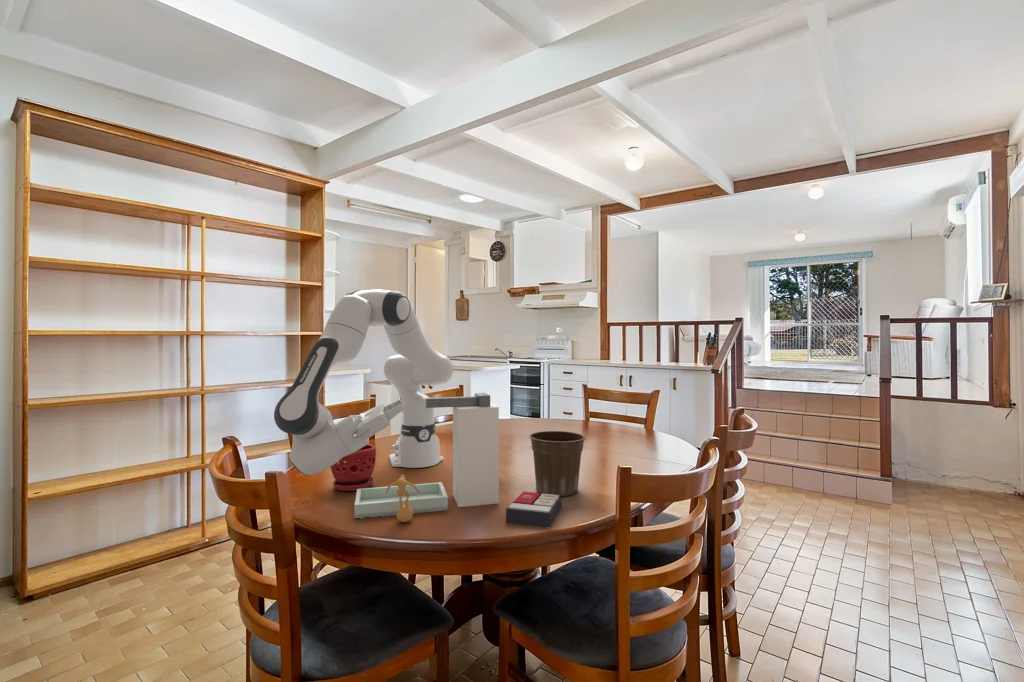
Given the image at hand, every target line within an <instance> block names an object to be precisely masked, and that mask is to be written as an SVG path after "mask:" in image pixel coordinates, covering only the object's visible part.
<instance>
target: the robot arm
mask: <svg viewBox="0 0 1024 682" xmlns="http://www.w3.org/2000/svg"><path fill="white" fill-rule="evenodd" d="M369 326H373V327H376V326H379V327H380V326H383V327H384V331H385V333H386V336H387V338H388V339H389V343H390V345H391V349H393V350H394V352H395V353H397V354H395V355H391V356H389V357H388V358H387V360H386V361H385V362H384V364H383V365H384V366H383V372H384V377H385V378H386V379H387V381H388V382H390V383H391V384H392V385H393V387H394V388H395V390H396V391H397V393H398V395H399V397H400V399H397V400H395V401H394V402H392V403H390V404H386V405H384V404H379V405H377V406H374V407H372V408H369V409H368V410H366V411H364V412H362V413H359V414H358V415H357V414H354V415H353V414H350V415H349V416H347V417H345V418H343V419H342V420H339V421H337V422H336V423H335V422H334V419H333V416H332V413H331V412H330V410H329V409H328V408H327V407H326V406H324V405H322V403H319V394H320V391H321V389H322V388H323V385H324V383H325V381H326V379H327V378H328V374H329V373H330V371H331V369H332V367H333V366H335V365H336V364H344V363H348V362H351V361H352V360H355V358H356V357H357V355H358V354H359V353H360V352H361V349H362V347H363V344H364V343H365V340H366V336H367V333H368V330H369ZM453 374H454V366H453V362H452V360H451V359H450V358H449V357H448V356H446V355H444V354H442V353H440V352H439V351H438V350H437V349H435V348H434V347H433V346H432V345H431V344H430V343H429V342H428V340H427V339H426V337H425V335H424V333H423V331H422V328H421V326H420V323H419V320H418V318H417V315H416V313H415V310H414V308H413V307H412V304H411V303H410V300H409V298H408V297H407V296H406V295H405V293H403V292H401V291H398V290H387V289H375V288H374V289H367V290H366V289H364V290H362V289H361V290H360V289H355V290H352V291H349V292H347V293H346V294H345V295H344V296H342V297H341V298H340V299H339V301H338V302H337V303H336V305H335V306H334V308H333V310H332V312H331V313H330V315H329V317H328V320H327V322H326V324H325V327H324V329H323V331H322V333H321V335H320V337H319V339H318V340H317V341H316V342H315V344H314V345H313V347H311V350H310V352H309V353H308V356H307V357H306V359H305V360H304V362H303V364H302V367H301V369H300V371H299V372H298V375H297V376H296V378H295V380H294V382H293V384H292V385H291V386H290V388H289V389H288V391H287V392H286V393H285V394H283V396H282V397H281V398H280V399H279V401H278V402H277V404H276V405H275V408H274V413H273V418H274V419H273V420H274V423H275V425H276V426H277V428H279V430H280V431H282V432H284V433H287V434H289V435H292V443H291V444H292V445H291V449H290V452H289V454H288V459H289V461H290V463H291V465H292V466H293V467H294V468H295V469H296V470H297V471H298V472H299V473H300V474H303V475H305V476H309V477H310V476H314V475H317V474H319V473H321V472H323V471H325V470H327V469H329V468H331V466H332V465H334V464H336V463H339V462H338V461H339V460H340V459H342V458H343V457H345V456H347V455H350V454H352V453H354V452H356V451H357V450H359V449H361V448H362V447H364V446H366V445H367V444H369V443H370V442H369V441H370V440H369V438H371V437H372V436H374V435H376V434H378V433H380V432H382V431H383V430H384V429H386V428H388V427H389V426H390V420H392V419H393V418H395V417H396V416H398V415H399V414H400V413H402V423H401V427H400V436H399V437H398V439H397V440H396V441H395V444H392V445H391V451H392V452H394V453H391V454H389V455H388V457H389V461H390V465H391V466H392V468H393V467H394V468H395V467H396V468H401V467H402V468H409V469H417V468H418V469H419V468H426V467H432V466H435V465H437V464H439V463H440V462H442V461H444V456H442V455H441V450H440V448H441V447H440V438H439V436H437V435H436V427H437V426H436V422H435V408H426V398H431V397H430V396H429V395H427V394H425V393H424V392H423V389H422V388H421V386H438V385H443V384H447V383H449V381H450V380H451V378H452V376H453Z"/></svg>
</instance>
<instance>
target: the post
mask: <svg viewBox="0 0 1024 682" xmlns="http://www.w3.org/2000/svg"><path fill="white" fill-rule="evenodd" d="M499 407H500V406H497V405H496V404H494V403H492V402H491V401H490V407H479V406H465V407H452V497H453V498H454V501H455V503H456V505H457V508H464V507H475V506H484V505H496V504H500V498H499V497H500V493H499V492H500V489H499V488H500V486H499V485H500V482H499V481H500V465H499V463H500V460H499V459H500V452H499V451H500V449H499V448H500V446H499V445H500V438H499V437H500V434H499V433H500V429H499V428H500V418H499V415H500V408H499Z"/></svg>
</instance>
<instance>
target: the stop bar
mask: <svg viewBox="0 0 1024 682" xmlns="http://www.w3.org/2000/svg"><path fill="white" fill-rule="evenodd" d="M490 402H491V395H490V394H488V393H486V392H475V393H474V396H473V395H472V396H471V395H469V396H447V397H446V396H444V397H443V396H442V397H430V398H426V408H434V409H435V408H453V407H465V406H479V407H490Z"/></svg>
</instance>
